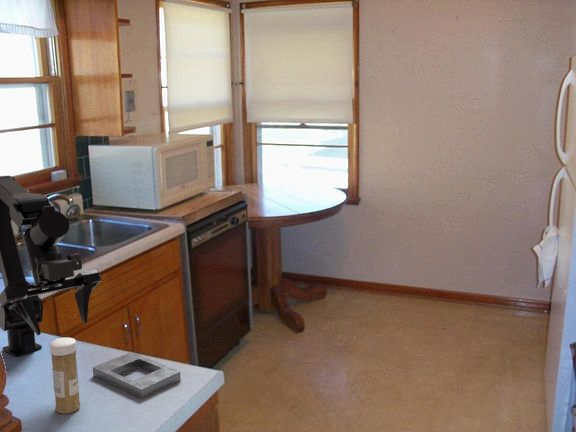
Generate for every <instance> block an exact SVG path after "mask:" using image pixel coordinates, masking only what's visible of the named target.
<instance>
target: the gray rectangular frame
mask: <svg viewBox="0 0 576 432" xmlns="http://www.w3.org/2000/svg"><path fill="white" fill-rule="evenodd" d="M138 367H139V368H140V367H141V368H140V369H142V368H143V369H142V370H144V371H145V370H146V371H148V372H149V373H148V374H145V375H144V376H141V377H139V378H137V379H134V380H132V379H130V378H127V377H125V376H123V375H125V374H127V373H129V371H130V372H132V371H134V370H133V369H135V370H137V369H139V368H138ZM136 368H137V369H136ZM131 370H132V371H131ZM126 372H127V373H126ZM124 373H125V374H124ZM122 374H123V375H122ZM92 376H93V377H94V376H95V377H94V378H96V377H97V378H96V379H98V378H99V380H100V381H103V382H105V383H107V382H108V383H107V384H109V385H112V386H114V387H115V388H118V389H120V390H122V391H124V392H126V393H129V394H130V395H133V396H135V397H137V398H140V399H142V400H143V399H145V398H147V397H149V396H152V395H154V394H155V393H158V392H160V391H161V390H163V389H166V388H168V387H170V386H172V385H175V384H176V383H179V382H180V381H182V380H181V378H182V377H181V371H180V370H178V369H175V368H172V367H170V366H168V365H165V364H162V363H161V362H158V361H156V360H154V359H150V358H148V357H145V356H143V355H141V354H137V353H136V352H133V351H130V352H128V353H125V354H123V355H120V356H117V357H115V358H113V359H110V360H108V361H105V362H102V363H100V364H98V365H95V366H92Z"/></svg>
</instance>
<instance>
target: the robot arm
mask: <svg viewBox="0 0 576 432" xmlns="http://www.w3.org/2000/svg"><path fill="white" fill-rule="evenodd" d="M12 222H13V223H14V224H15V225H16V226H17V227H23V226H30V227H28V228H25V232H24V233H23V234H22V242H23V244H24V247H25V250H26V254H27V258H28V263H29V264H28V270H29V271H31V274H32V278H33V283H30V282H29V281H27V280H26V276H25V275H26V274H25V272H24V267H23V264H22V259H21V257H20V253H19V247H18V245H17V241H16V237H15V232H14V229H13V225H12ZM69 230H70V221H69V219H68V218H67V217H66V215H64V214H63V213H62V212H61V211H60V210H59V209H58V208H56V206H55V205H54V203H53V202H52V201H51V200H49V197H48V196H46V195H44V194H43V193H36V192H35V193H34V192H33V193H32V192H29V191H28V190H27V189H26V188H25V187H23V186H22V185H20V184H19V182H17V181H16V179H15V177H14V176H13V175H11V176H10V175H0V274H1V278H2V281H3V285H4V288H3V290H2V291H1V293H0V329H1V330H2V331H3V332H6V333H7V344H8V345H6V346H3V347H2V351H3V352H6V353H8V354H9V355H12V356H14V357H20V356H22V355H26V354H29V353H31V352H34V351H36V350H40V349H42V348H43V345H41V344H39V343H37V342H36V336H40V335H41V333H42V332H41V328H40V324H39V323H42V322H43V319H44V318H43V314H44V302H42V301H43V300H42V299H41V297H40V296H39V295H45V294H49V293H54V292H59V291H64V290H69V289H74V290H76V292H74V298H75V302H76V305H77V309H78V311H79V317H80V319H81V321H82V323H83V325H85V324H87V323H88V317H89V316H88V314H89V301H90V297H91V293H92V291H93V290H94V289H95V288H97V286H98V285H99V284H100V283H101V282H103V279H102V275H101V273H100V272H99V271H98V269H96V268H95V269H89V270H86V271H85V270H84V271H79V270H82V269H83V265H82V264H83V263H82V259H81V256H80V253H71V254H68V255H67V258H65V259H64V258H63V255H62V254H61V252H59V250H58V247H57V245H58V243H59V242H60V241H61V240H62V239H63V238H64V237H65V235H67V233H68V232H69ZM75 271H79V273H78V274H76V275H75ZM68 278H69V279H68Z"/></svg>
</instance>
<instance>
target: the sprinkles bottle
mask: <svg viewBox="0 0 576 432" xmlns="http://www.w3.org/2000/svg"><path fill="white" fill-rule="evenodd" d="M49 351H50V352H49V353H50V355H51V363H52V369H51V370H52V371H51V372H52V378H53V379H52V380H53V392H54V399H55V400H54V401H55V408H54V410H55V411H56V412H57V413H60V414H64V415H65V414H70V413H73V412H76V411H77V410H79V409H80V407H81V401H80V392H79V390H80V385H79V384H80V383H79V373H78V365H77V364H78V363H77V341H76V339H75V338H73V337H59V338H56V339H53V340H52V341H51V342H50V343H49Z"/></svg>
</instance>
